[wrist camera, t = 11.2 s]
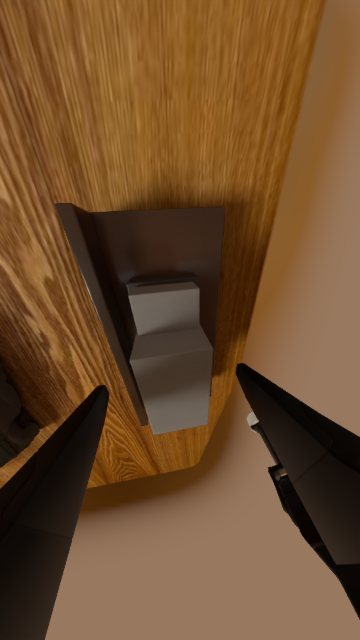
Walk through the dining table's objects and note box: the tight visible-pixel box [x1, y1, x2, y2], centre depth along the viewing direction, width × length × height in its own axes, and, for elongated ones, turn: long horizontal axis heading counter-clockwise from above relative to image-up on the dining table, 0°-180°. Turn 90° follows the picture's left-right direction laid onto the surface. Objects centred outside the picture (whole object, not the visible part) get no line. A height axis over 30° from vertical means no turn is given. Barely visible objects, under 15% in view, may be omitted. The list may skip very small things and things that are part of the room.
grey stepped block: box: [126, 273, 213, 435], centre depth 11 cm, size 12×5×5 cm, turn 3°
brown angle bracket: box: [55, 203, 225, 426], centre depth 13 cm, size 20×9×4 cm, turn 3°
